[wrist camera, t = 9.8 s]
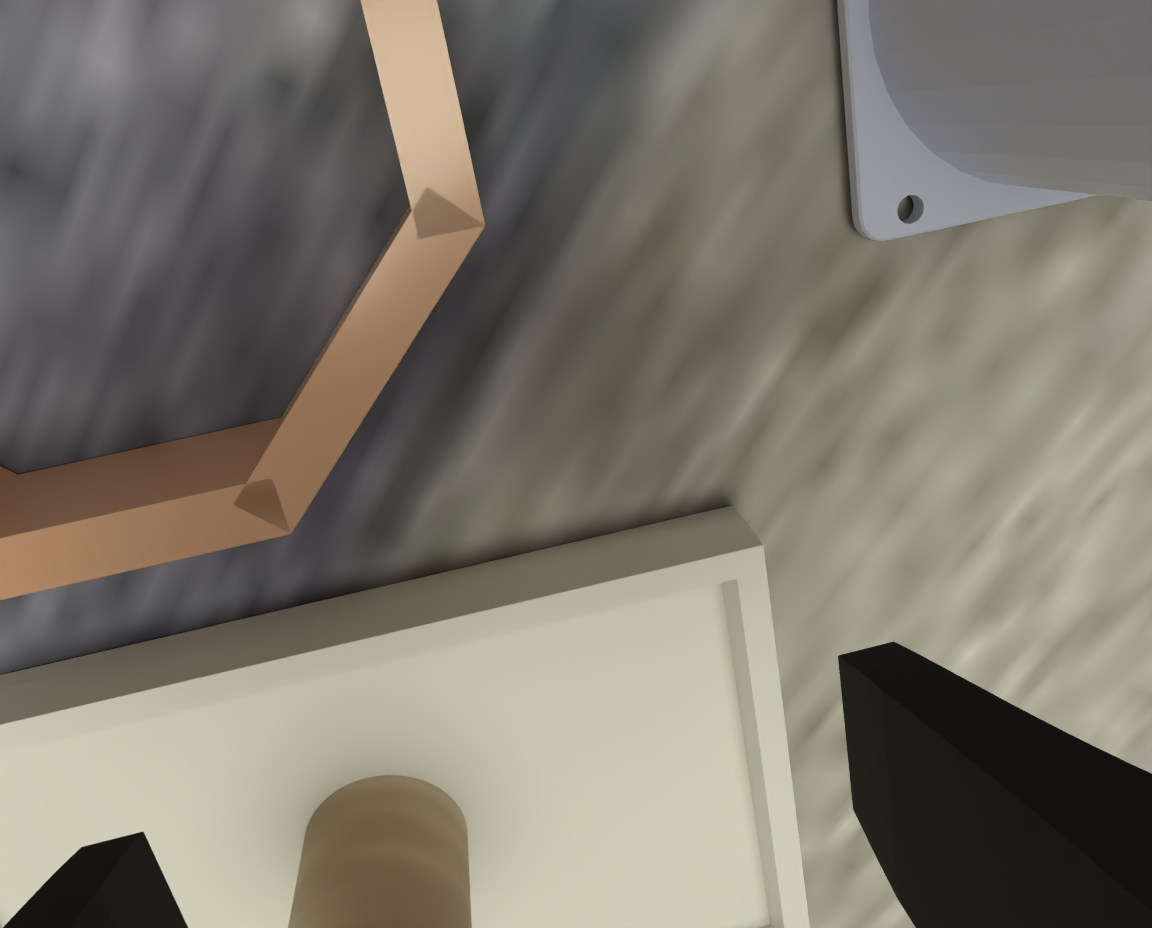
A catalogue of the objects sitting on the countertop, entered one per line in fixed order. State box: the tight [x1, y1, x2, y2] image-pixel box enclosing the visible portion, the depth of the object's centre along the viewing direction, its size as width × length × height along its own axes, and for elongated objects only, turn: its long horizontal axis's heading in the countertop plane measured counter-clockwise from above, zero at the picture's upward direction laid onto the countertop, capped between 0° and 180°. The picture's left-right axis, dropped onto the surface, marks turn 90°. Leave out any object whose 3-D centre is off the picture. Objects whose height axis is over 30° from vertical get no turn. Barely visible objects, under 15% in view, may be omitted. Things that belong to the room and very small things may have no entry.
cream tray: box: [0, 505, 810, 928], centre depth 20 cm, size 18×12×2 cm, turn 100°
